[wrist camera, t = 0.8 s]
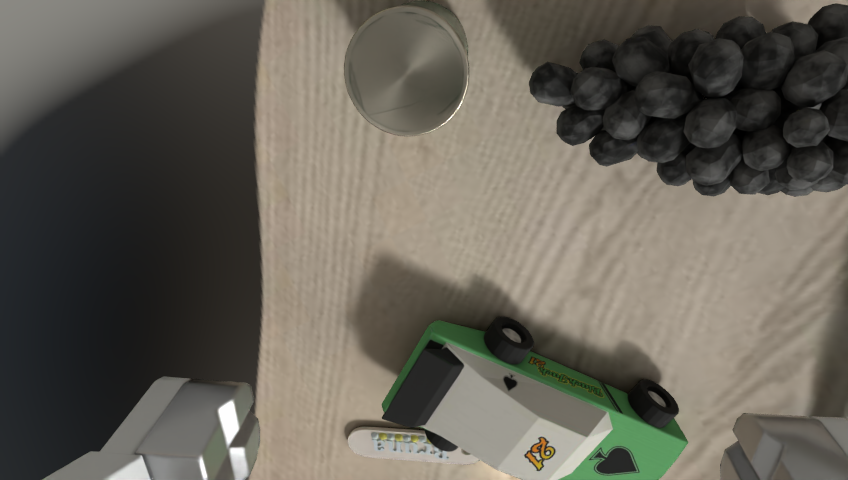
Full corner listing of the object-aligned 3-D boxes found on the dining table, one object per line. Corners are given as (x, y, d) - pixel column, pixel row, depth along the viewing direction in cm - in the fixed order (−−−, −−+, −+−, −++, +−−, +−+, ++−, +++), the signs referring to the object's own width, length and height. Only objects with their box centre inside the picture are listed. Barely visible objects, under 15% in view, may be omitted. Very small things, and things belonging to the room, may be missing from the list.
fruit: (530, 169, 20) (937, 228, 19) (570, -64, 18) (1009, -9, 18) (508, 166, 28) (789, 207, 28) (534, 7, 27) (830, 46, 26)
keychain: (486, 441, 38) (483, 469, 40) (485, 434, 39) (483, 462, 40) (345, 431, 39) (348, 459, 40) (347, 425, 39) (349, 452, 41)
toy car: (605, 485, 40) (621, 548, 36) (379, 392, 38) (366, 448, 33) (692, 398, 36) (723, 459, 31) (441, 286, 33) (436, 335, 29)
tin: (371, -3, 26) (339, 5, 20) (472, -2, 25) (472, 7, 19) (374, 99, 28) (347, 134, 22) (467, 101, 28) (465, 138, 22)
